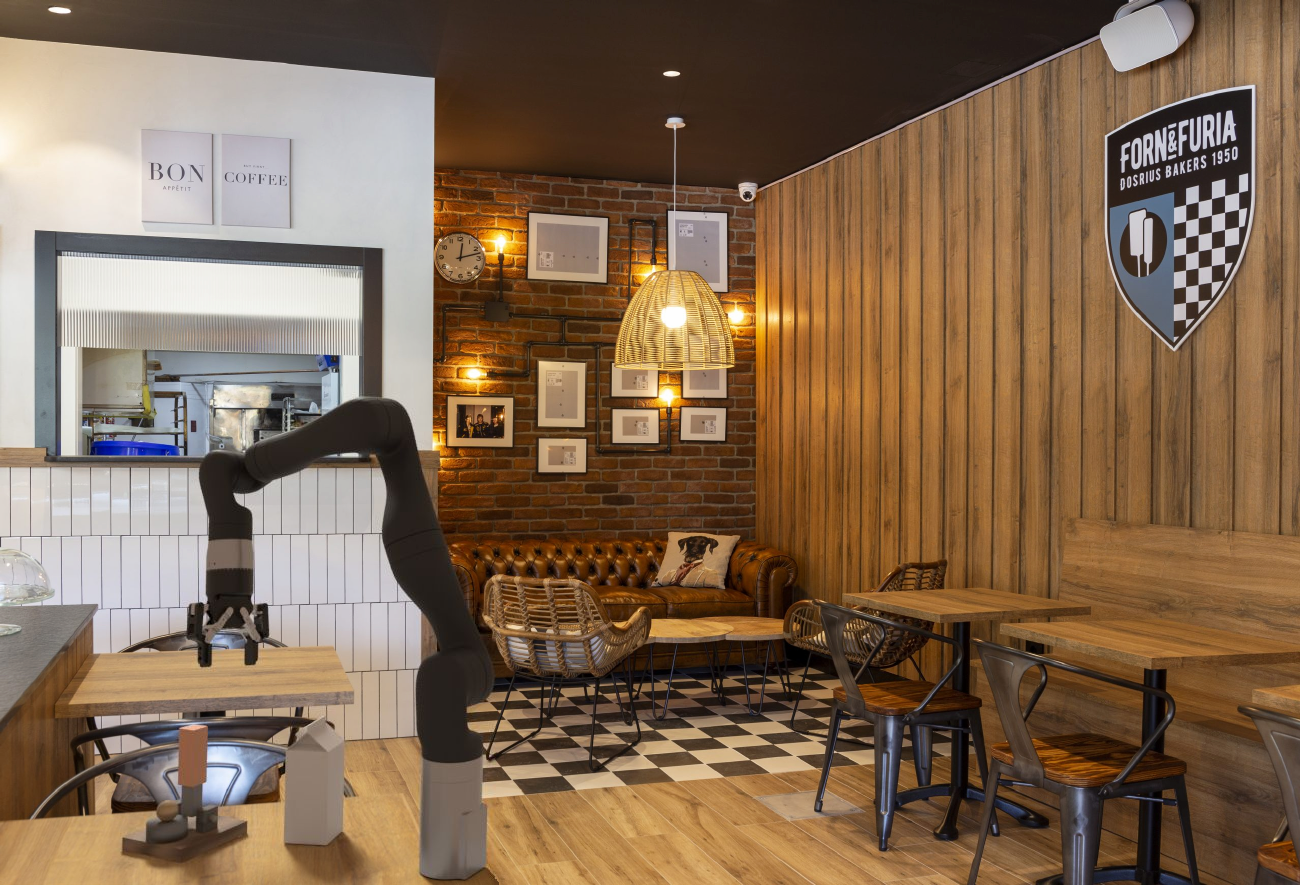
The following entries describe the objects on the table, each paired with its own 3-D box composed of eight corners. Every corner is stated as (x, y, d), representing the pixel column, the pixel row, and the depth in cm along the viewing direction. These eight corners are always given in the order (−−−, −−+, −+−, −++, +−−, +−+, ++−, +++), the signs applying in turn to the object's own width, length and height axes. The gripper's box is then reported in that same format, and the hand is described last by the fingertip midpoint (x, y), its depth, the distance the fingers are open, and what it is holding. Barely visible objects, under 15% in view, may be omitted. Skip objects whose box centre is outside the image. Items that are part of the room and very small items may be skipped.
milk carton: (343, 831, 180) (345, 716, 180) (326, 846, 173) (328, 727, 173) (301, 829, 181) (304, 714, 181) (283, 844, 174) (285, 725, 174)
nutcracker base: (247, 833, 178) (248, 786, 179) (181, 862, 166) (182, 811, 166) (190, 822, 183) (191, 776, 183) (122, 850, 170) (123, 800, 170)
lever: (205, 813, 176) (207, 726, 176) (191, 818, 173) (193, 730, 173) (191, 810, 177) (193, 724, 177) (177, 816, 174) (179, 728, 174)
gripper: (206, 564, 176) (204, 667, 173) (279, 567, 188) (278, 663, 185) (178, 568, 180) (175, 669, 177) (251, 571, 192) (250, 665, 189)
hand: (228, 666), depth 181 cm, fingers open, 8 cm apart
